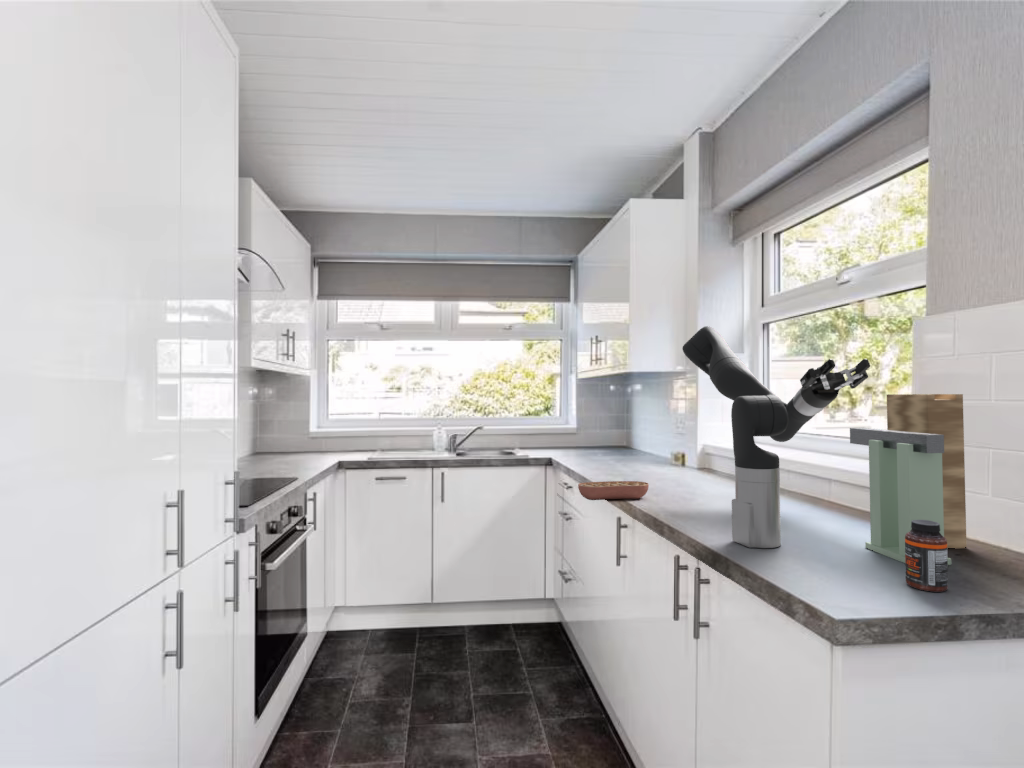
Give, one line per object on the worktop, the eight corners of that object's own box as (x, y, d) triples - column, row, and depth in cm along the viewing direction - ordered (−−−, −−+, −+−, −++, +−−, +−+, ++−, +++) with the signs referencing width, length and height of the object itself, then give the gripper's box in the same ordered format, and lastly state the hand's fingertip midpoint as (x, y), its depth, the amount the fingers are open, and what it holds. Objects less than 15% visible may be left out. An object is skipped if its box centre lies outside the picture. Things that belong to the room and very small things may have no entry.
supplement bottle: (897, 582, 99) (895, 518, 99) (928, 580, 100) (926, 517, 100) (924, 594, 93) (923, 526, 93) (957, 592, 94) (956, 525, 94)
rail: (850, 443, 129) (849, 428, 129) (864, 443, 129) (864, 427, 129) (927, 453, 107) (926, 435, 107) (944, 453, 107) (943, 434, 107)
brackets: (865, 547, 121) (863, 439, 121) (900, 546, 121) (898, 439, 122) (912, 566, 108) (909, 445, 108) (951, 564, 109) (948, 444, 109)
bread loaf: (581, 503, 174) (581, 487, 174) (575, 497, 184) (575, 482, 184) (652, 501, 176) (652, 485, 176) (642, 495, 186) (642, 480, 186)
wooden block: (889, 535, 131) (886, 394, 132) (921, 534, 132) (918, 394, 132) (931, 549, 119) (927, 394, 120) (966, 548, 120) (962, 394, 120)
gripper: (784, 384, 147) (816, 349, 133) (835, 383, 147) (873, 348, 134) (792, 409, 143) (826, 375, 129) (845, 408, 144) (885, 375, 130)
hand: (850, 362), depth 131 cm, fingers open, 8 cm apart
